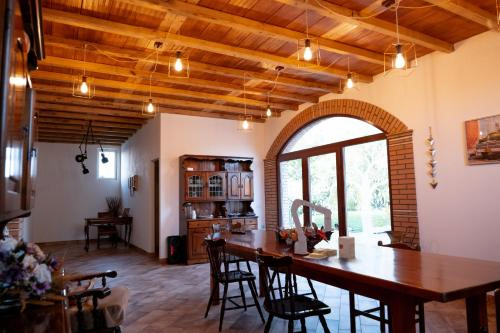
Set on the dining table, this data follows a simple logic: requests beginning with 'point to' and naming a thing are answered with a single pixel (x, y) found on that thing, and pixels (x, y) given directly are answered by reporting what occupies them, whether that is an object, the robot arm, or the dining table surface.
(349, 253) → the supplement box
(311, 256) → the card
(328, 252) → the deck
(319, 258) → the mat
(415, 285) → the dining table surface
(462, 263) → the dining table surface
